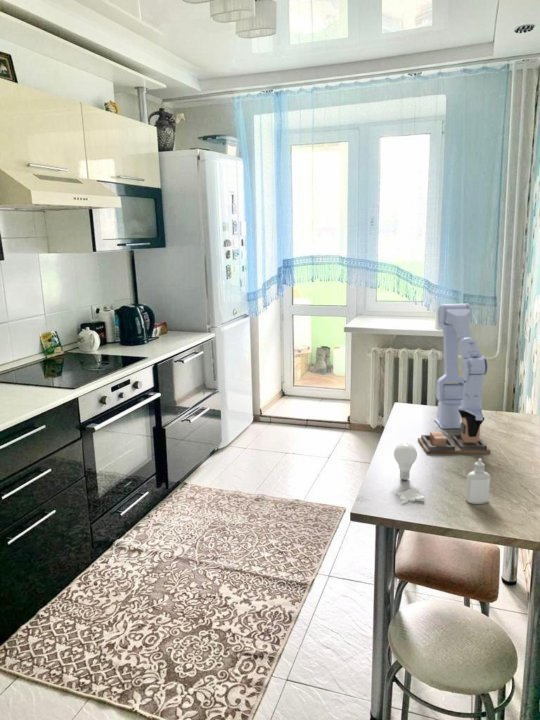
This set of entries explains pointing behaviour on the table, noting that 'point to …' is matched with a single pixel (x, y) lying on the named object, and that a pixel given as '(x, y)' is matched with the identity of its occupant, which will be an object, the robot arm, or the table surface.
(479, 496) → the eye dropper bottle
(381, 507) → the table surface
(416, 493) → the acanthus leaf ornament
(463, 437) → the pinkish brown block
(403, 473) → the lightbulb
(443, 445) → the brown flat tray
